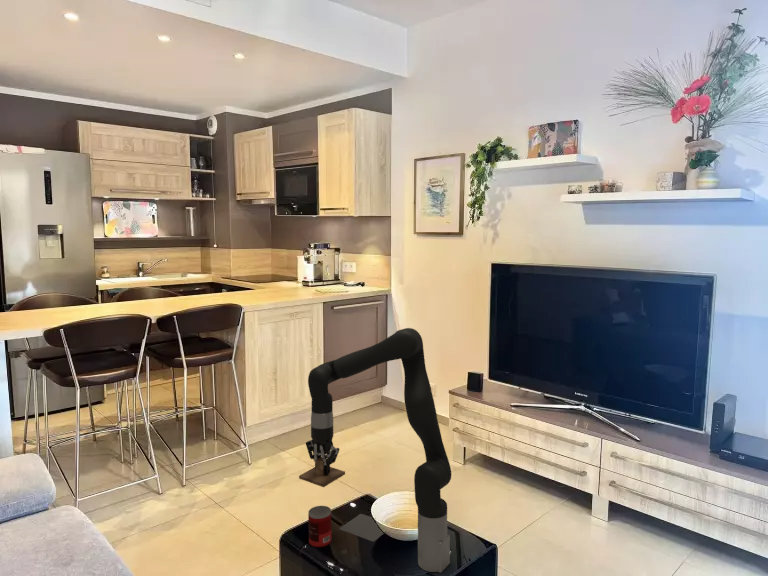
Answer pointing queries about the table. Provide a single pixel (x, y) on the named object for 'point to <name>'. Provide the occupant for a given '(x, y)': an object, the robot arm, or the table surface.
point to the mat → (363, 528)
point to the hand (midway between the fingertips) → (322, 473)
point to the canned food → (319, 526)
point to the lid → (321, 474)
